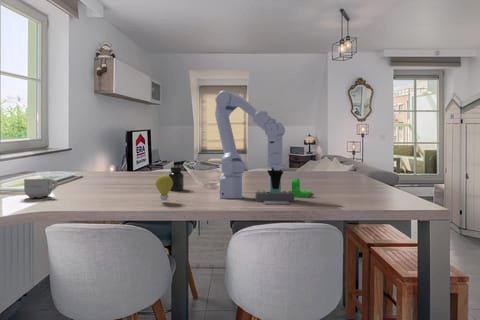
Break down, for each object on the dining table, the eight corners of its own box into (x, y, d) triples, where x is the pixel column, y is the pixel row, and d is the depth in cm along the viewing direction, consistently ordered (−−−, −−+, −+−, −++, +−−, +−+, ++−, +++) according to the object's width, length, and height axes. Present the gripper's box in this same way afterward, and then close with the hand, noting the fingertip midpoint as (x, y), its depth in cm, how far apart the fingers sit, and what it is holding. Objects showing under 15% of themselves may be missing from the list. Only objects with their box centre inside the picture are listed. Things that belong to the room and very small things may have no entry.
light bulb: (158, 201, 150) (158, 175, 150) (153, 199, 156) (153, 174, 156) (175, 200, 153) (175, 175, 153) (169, 199, 159) (169, 174, 159)
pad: (264, 204, 141) (264, 203, 141) (263, 201, 149) (263, 200, 149) (289, 204, 141) (289, 203, 141) (287, 201, 149) (287, 200, 149)
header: (256, 201, 150) (256, 191, 150) (255, 199, 157) (255, 189, 157) (294, 201, 150) (294, 191, 150) (291, 199, 157) (291, 189, 157)
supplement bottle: (181, 192, 188) (181, 166, 188) (185, 193, 182) (185, 167, 182) (167, 192, 185) (167, 167, 185) (171, 193, 179) (170, 167, 179)
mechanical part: (305, 198, 163) (305, 178, 163) (291, 197, 165) (291, 178, 165) (312, 195, 174) (312, 177, 173) (299, 194, 176) (299, 177, 176)
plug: (269, 197, 151) (269, 176, 151) (269, 196, 156) (269, 175, 156) (281, 197, 151) (281, 176, 151) (280, 196, 156) (280, 175, 156)
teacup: (18, 198, 163) (17, 178, 163) (40, 195, 173) (40, 177, 173) (42, 199, 158) (42, 179, 158) (64, 196, 168) (64, 178, 168)
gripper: (287, 153, 146) (287, 190, 146) (283, 153, 161) (283, 186, 161) (268, 153, 146) (268, 190, 146) (265, 153, 161) (265, 186, 161)
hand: (275, 188), depth 154 cm, fingers closed on plug, 4 cm apart
